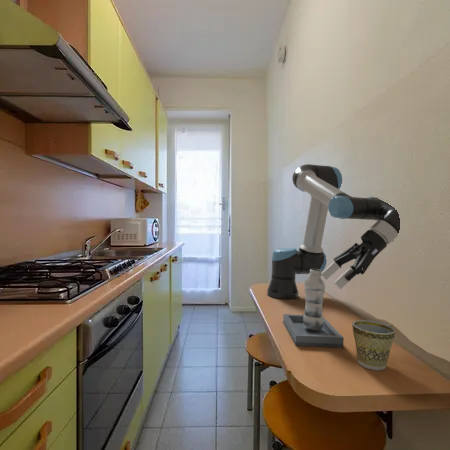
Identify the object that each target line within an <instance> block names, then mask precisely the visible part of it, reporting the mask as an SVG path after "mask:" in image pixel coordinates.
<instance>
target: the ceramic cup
mask: <svg viewBox="0 0 450 450" xmlns="http://www.w3.org/2000/svg"><path fill="white" fill-rule="evenodd" d="M352 333H353V338H354V342H355V349H356V358H357V363H358V365H359V364H360V366H361V365H362V366H361V367H363V368H364V369H368V370H372V371H382V370H385V369H386V367H387V363H388V359H389V356H390V353H391V348H392V346H393V342H394V339H395V333H396V329H395V328H394V326H392V325H391V326H390V325H389V324H386V323H382V322H378V321H374V320H368V319H367V320H363V319H360V320H359V319H358V320H355V321H353V322H352Z"/></svg>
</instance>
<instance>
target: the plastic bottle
mask: <svg viewBox="0 0 450 450" xmlns="http://www.w3.org/2000/svg"><path fill="white" fill-rule="evenodd" d="M322 272H323V271H322V270H320V269H310V273H309V274H308V275H309V277H308V278H307V279H306V280H305V282H304V284H303V285H304V294H305V297H304V299H305V305H304V306H305V307H304V313H303V315H304V316H303V326H304V327H305V328H306V329H308V330H312V331H320V330H321V329H322V328H323V324H324V321H323V317H324V316H323V315H324V314H323V312H324V311H323V302H324V296H325V295H324V294H325V290H326V285H325V282H324V280H323V279H322V277H323V276H322V274H321V273H322Z"/></svg>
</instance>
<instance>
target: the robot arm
mask: <svg viewBox="0 0 450 450" xmlns="http://www.w3.org/2000/svg"><path fill="white" fill-rule="evenodd" d="M292 183H293V185H294V187H295V188H296V189H298V190H299V191H300V192H305V193H307V194H309V195H310V197H311V198H310V202H309V209H308V215H307V220H306V226H305V231H304V232H305V233H304V238H303V243H302V244H300V246H299V249H298V250H297V248H295V247H281V248H276V249H274V250H273V251H272V255H271V256H272V257H271V279H270V282H269V285H268V287H267V290H266V291H267V292H266V295H267V294H268V295H267V296H269V297H271V298H275V299H281V300H294V299H297V298H299V290H298V286H297V282H296V275H309V273H310V269H320V270H322V273H321V274H322V276H321V277H323V278H324V279H325V281H327V280H328V279H330V277H332V276H333V275H334V274H335V273H336V272H337V271H338V270H339V269H341V268H342V266H343V265H345V264H347V263H349V262H351V261H353V260H355V261H354V263H353V264H352V265H350V266H349V268H348V269H346V271H344V272H343V273H342V274H341V275H340V276H339V277H338V278H337V279H335V280H334V281H333V283H334V285H336V286H337V288H338V289H340V290H342V289H343V288H344V287H345V286H346V285H347V284H348V283H349V282H350V281H352V280H353V279H354V278H355V277H356V276H357V275H364V274H365V273H366V271H367V270H368V269H369V267H370V266H371V263H372V262H373V261H374V260H375V258H376V257H377V256H378V255H379V253H381V252H382V251H383V250H385V248H387V246H388V245H390V244H391V243H392V242H393V243H394V242H395V241H394V239H396V238H397V237H398V236H397V235H398V233H399V230H400V218H399V214H398V212H397V210H395V208H394V207H392V206H391V205H389V204H388V203H386V202H384V201H382V200H380V199H381V198H380V199H378V198H379V197H376V196H368V197H357V196H351V195H350V194H348V193H346V192H344V191H342V190H341V188H342V186H341V184H343V175H342V173H341V171H340V169H339V168H337V167H335V166H331V165H319V164H303V165H300V166H298V167H297V168H296V169H295V170H294V172H293V173H292ZM340 187H341V188H340ZM328 212H329V215H330V216H331V217H332V218H334V219H340V220H341V219H342V220H346V219H348V220H349V219H350V220H366V221H367V220H368V221H376V222H375V223H374V224H373V225H371V227H369V229H367V230H366V231H365V232H364V233H363V234H362V235H361V236H360V239H361V241H362V242H361V243H360V244H359V243H358V242H355V243H354V244H353V245H352V246H350V247H348V248H347V249H346V250H344V251H343V252H342V253H340V254H339V255H337V256H335V257H333V262H332V263H331V264H330V265H329V266H328V267H327V255H326V253H325V252H324V249H323V247H322V243H323V239H324V231H325V227H326V222H327V217H328Z"/></svg>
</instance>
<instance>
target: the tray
mask: <svg viewBox="0 0 450 450" xmlns="http://www.w3.org/2000/svg"><path fill="white" fill-rule="evenodd" d="M303 316H304V314H288V313H284V314H283V317H282V318H283V321H282V323H283V325H284V326H285V329H286V330H287V332H288V334H289V336H290V338H291V340H292V341H293V344H294V345H295V347H296V346H297V347H298V346H299V347H317V348H318V347H319V348H320V347H321V348H335V349H336V348H337V349H338V348H339V349H340V348H342V349H343V348H344V340H345V339H344V338H345V337H344V336H343V335H341V333H339V331H338V330H337V329H336V328H335V327H334V326H333V325H332V324H331V323H330V322H329V321H328V320H327V319H326V318H325V317H324V316H323V321H324V324H323V328H322V329H321V330H320V331H312V330H308V329H306V328H305V327H304V326H303Z"/></svg>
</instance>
